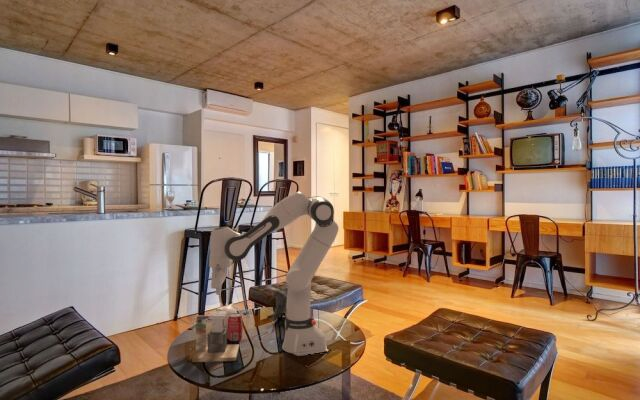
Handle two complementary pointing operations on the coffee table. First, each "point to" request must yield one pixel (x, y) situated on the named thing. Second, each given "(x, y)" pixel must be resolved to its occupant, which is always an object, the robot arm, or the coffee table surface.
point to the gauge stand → (213, 345)
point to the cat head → (229, 311)
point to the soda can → (235, 327)
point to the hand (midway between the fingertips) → (218, 293)
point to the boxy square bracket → (216, 321)
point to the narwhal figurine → (279, 302)
